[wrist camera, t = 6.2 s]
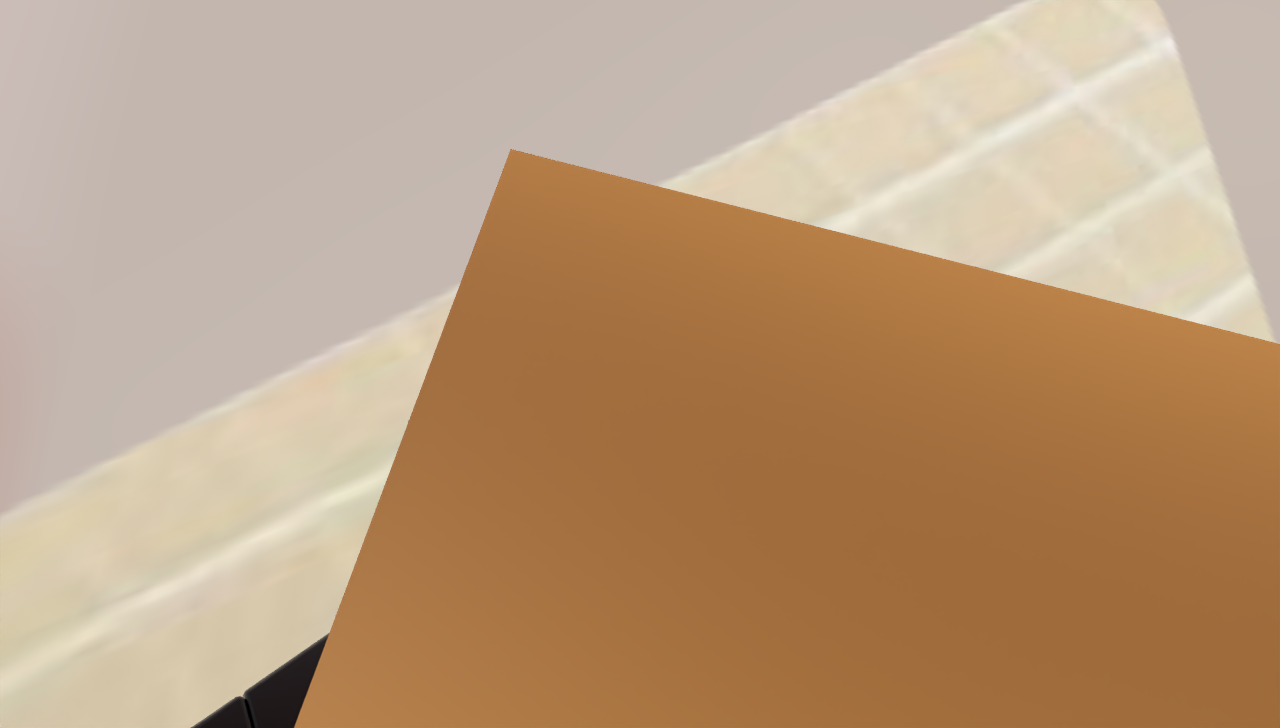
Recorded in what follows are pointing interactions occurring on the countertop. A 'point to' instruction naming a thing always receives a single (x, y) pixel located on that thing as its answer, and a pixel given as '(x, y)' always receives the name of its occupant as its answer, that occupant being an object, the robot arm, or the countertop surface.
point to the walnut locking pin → (806, 491)
